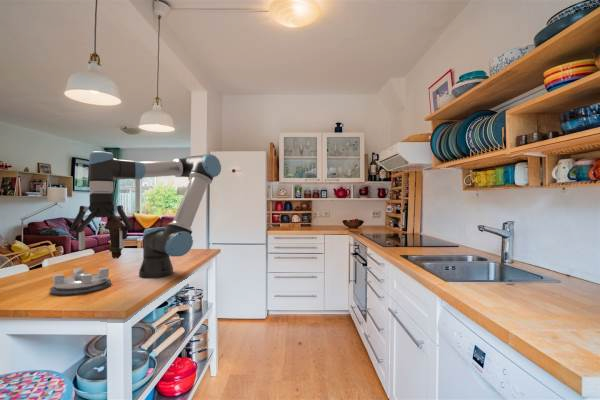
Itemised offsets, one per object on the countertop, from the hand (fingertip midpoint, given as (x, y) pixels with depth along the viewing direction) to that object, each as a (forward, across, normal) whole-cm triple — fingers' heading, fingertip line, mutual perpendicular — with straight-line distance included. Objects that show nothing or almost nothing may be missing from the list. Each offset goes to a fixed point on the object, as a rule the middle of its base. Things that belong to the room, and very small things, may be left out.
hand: (102, 248), depth 109 cm
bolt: (+4, -4, -3) cm, 7 cm away
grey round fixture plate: (+16, +12, -13) cm, 24 cm away
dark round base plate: (+18, +12, -12) cm, 25 cm away
